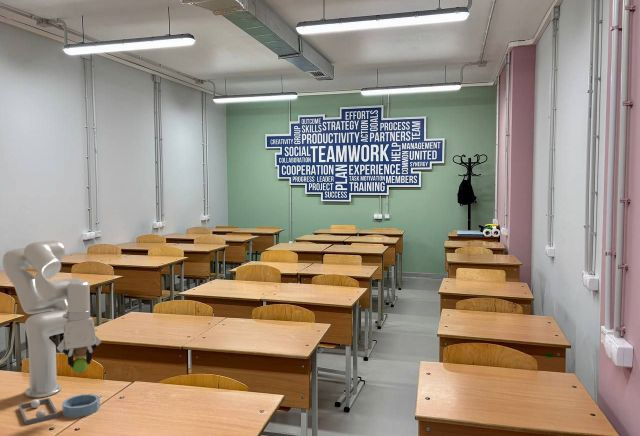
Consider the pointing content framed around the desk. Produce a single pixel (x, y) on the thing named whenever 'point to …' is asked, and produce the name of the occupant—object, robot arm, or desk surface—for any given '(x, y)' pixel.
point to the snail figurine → (79, 360)
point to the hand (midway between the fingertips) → (79, 364)
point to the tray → (38, 417)
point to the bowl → (80, 405)
